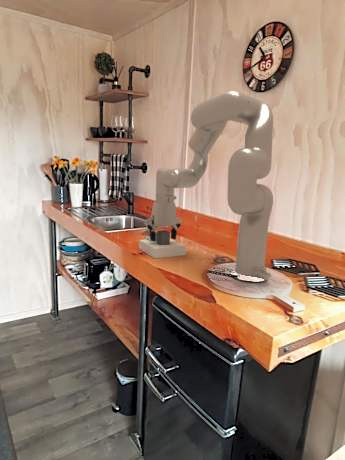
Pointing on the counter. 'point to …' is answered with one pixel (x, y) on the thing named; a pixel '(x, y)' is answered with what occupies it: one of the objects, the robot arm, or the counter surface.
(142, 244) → the socket
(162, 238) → the dark grey upright block
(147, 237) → the shutter
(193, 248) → the counter surface
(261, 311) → the counter surface
